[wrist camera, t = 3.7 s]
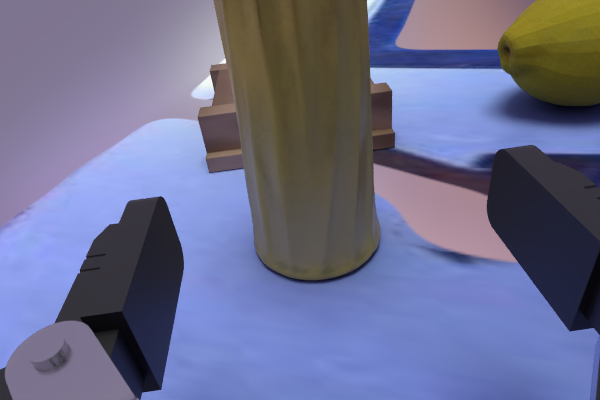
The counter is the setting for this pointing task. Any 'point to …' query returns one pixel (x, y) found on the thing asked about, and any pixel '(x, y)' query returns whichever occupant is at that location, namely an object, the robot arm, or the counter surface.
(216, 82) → the socket block
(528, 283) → the counter surface
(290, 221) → the vase
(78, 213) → the counter surface
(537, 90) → the lemon
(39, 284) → the counter surface
